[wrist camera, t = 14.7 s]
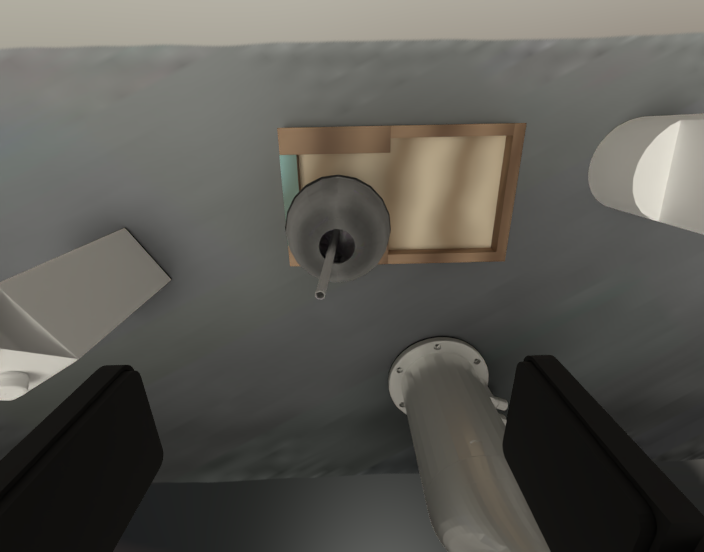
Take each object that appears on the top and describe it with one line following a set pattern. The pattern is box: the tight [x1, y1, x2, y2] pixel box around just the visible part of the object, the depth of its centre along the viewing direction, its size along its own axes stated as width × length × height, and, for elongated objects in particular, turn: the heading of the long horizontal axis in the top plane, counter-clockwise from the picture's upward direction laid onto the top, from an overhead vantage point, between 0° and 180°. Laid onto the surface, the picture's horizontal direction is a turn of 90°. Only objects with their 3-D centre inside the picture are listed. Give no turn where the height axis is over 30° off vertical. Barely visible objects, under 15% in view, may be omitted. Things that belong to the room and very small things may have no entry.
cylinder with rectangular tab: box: [588, 114, 704, 235], centre depth 30 cm, size 9×9×12 cm
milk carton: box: [0, 228, 171, 400], centre depth 30 cm, size 7×7×19 cm
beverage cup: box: [285, 175, 391, 300], centre depth 25 cm, size 7×7×20 cm
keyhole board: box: [277, 123, 526, 266], centre depth 35 cm, size 22×13×3 cm, turn 91°
